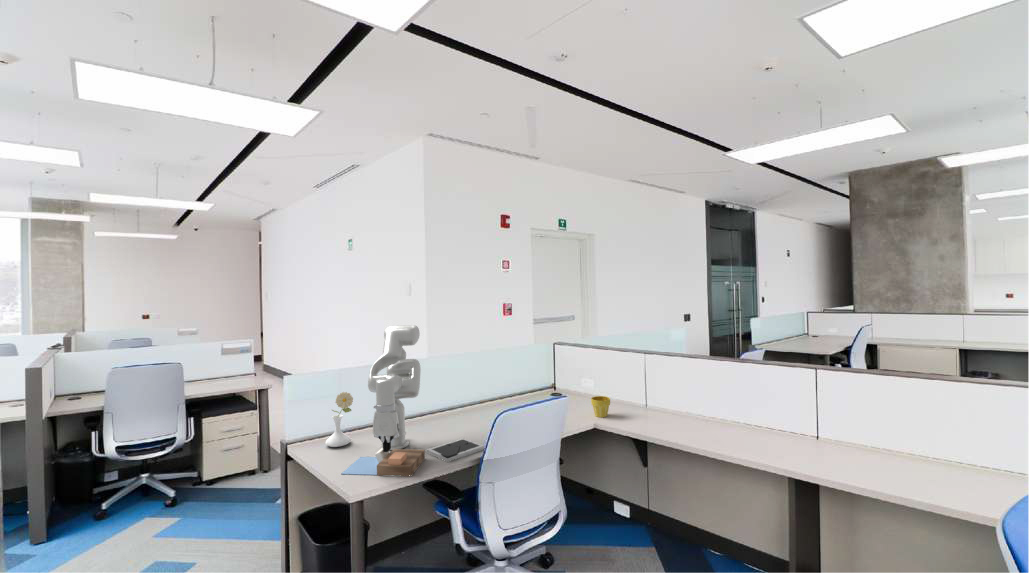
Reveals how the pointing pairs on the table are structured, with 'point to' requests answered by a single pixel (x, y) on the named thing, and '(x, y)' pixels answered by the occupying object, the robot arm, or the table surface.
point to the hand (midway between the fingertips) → (386, 450)
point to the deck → (406, 467)
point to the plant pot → (600, 405)
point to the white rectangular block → (381, 455)
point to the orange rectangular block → (397, 458)
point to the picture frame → (455, 449)
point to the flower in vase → (338, 436)
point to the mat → (363, 467)
